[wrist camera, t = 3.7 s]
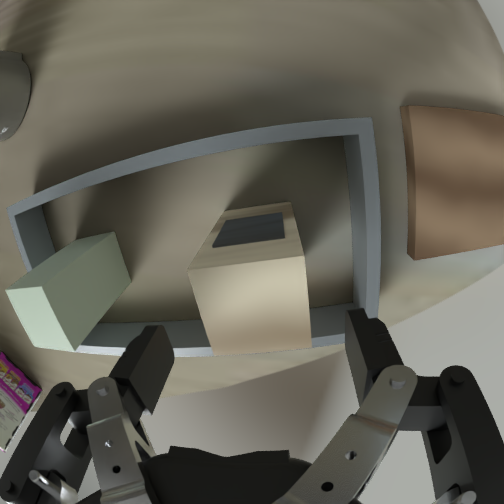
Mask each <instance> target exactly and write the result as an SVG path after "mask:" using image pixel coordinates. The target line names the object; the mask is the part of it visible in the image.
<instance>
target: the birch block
mask: <svg viewBox="0 0 504 504" xmlns="http://www.w3.org/2000/svg"><path fill="white" fill-rule="evenodd" d="M187 272H188V275H189V279H190V282H191V285H192V289H193V292H194V295H195V299H196V302H197V305H198V308H199V312H200V315H201V318H202V321H203V324H204V327H205V330H206V333H207V336H208V339H209V342H210V345H211V348H212V351H213V354H214V356H219V355H238V354H252V353H265V352H276V351H286V350H295V349H304V348H311V347H312V341H311V327H310V313H309V301H308V289H307V278H306V268H305V258H304V253H303V249H302V244H301V240H300V236H299V232H298V228H297V225H296V221H295V217H294V213H293V209H292V205H291V202H290V201H289V202H282V203H275V204H268V205H261V206H254V207H247V208H241V209H234V210H228V211H224V212H223V214H222V215H221V217H220V218H219V220H218V221H217V223H216V225H215V226H214V228H213V229H212V231H211V232H210V234H209V236H208V237H207V239H206V240H205V242H204V244H203V245H202V247H201V248H200V250H199V252H198V253H197V255H196V257H195V258H194V260H193V261H192V263H191V265H190V266H189V268H188V270H187Z"/></svg>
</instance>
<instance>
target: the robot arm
mask: <svg viewBox="0 0 504 504" xmlns="http://www.w3.org/2000/svg"><path fill="white" fill-rule="evenodd" d="M30 86H31V80H30V72H29V69H28V67H27V65H26V64H25V63H24V62H23V60H22V53H17V52H10V51H1V50H0V141H2V140H6V139H8V138H10V137H11V136H12V135H13V134H14V133H15V131H16V130H17V128H18V127H19V125H20V123H21V121H22V119H23V117H24V114H25V112H26V108H27V105H28V101H29V95H30ZM345 349H346V354H347V357H348V361H349V365H350V369H351V373H352V377H353V381H354V385H355V389H356V394H357V398H358V402H359V406H360V408H359V409H358V411H357V412H356V414H351V415H350V416H349V417H348V418H347V419H346V421H345V422H344V423H343V425H342V426H341V428H340V429H339V431H338V432H337V433H336V435H335V436H334V437H333V439H332V440H331V441H330V443H329V444H328V445H327V447H326V448H325V449H324V450H323V451H322V453H321V454H320V455H319V456H318V458H317V459H316V460H315V461H314V463H313V464H311V463H309V462H306V461H304V460H300V459H296V458H290V455H289V450H281V451H256V452H252V453H247V454H242V455H236V456H230V457H222V456H219V455H216V454H212V453H209V452H206V451H202V450H199V449H195V448H184V447H177V446H170V449H169V452H168V453H165V454H160V455H157V454H156V453H155V451H154V449H153V447H152V444H151V442H150V440H149V437H148V435H147V433H146V430H145V428H144V425H143V423H142V421H141V419H140V417H141V415H142V414H145V415H152V414H153V411H154V409H155V406H156V404H157V402H158V399H159V397H160V394H161V392H162V390H163V387H164V385H165V382H166V380H167V378H168V375H169V373H170V371H171V368H172V366H173V363H174V358H175V356H174V350H173V348H172V345H171V343H170V340H169V338H168V335H167V333H166V330H165V328H164V326H163V325H146V326H145V328H144V329H143V331H142V332H141V334H140V335H139V336H137V337H135V338H134V339H133V340H132V341H131V342H130V343H129V344H128V346H127V347H126V349H125V351H124V352H123V354H122V355H121V357H120V358H119V360H118V361H117V363H116V365H115V366H114V368H113V369H112V371H111V373H110V374H109V376H108V377H102V378H99V379H97V380H95V381H94V382H93V383H92V384H91V385H90V386H89V388H88V389H84V390H75V388H74V387H73V385H72V384H71V383H69V382H61V383H59V384H57V385H55V386H54V387H53V388H52V389H51V391H50V392H49V394H48V395H47V397H46V399H45V400H44V402H43V403H42V405H41V407H40V408H39V410H38V411H37V413H36V415H35V416H34V418H33V420H32V421H31V423H30V425H29V426H28V428H27V430H26V432H25V433H24V435H23V437H22V439H21V440H20V442H19V444H18V446H17V448H16V449H15V451H14V453H13V455H12V457H11V459H10V461H9V463H8V464H7V466H6V469H5V471H4V472H3V474H2V477H1V479H0V496H1V498H2V499H3V500H5V501H6V502H7V503H9V504H362V503H361V502H359V501H358V498H359V497H360V495H361V494H362V492H363V491H364V490H365V488H366V486H367V485H368V484H369V482H370V480H371V479H372V477H373V476H374V474H375V472H376V470H377V469H378V467H379V465H380V464H381V462H382V460H383V458H384V457H385V455H386V453H387V451H388V450H389V448H390V446H391V444H392V442H393V440H394V439H395V437H396V434H397V433H398V431H399V430H402V431H421V433H422V436H423V441H424V445H425V449H426V453H427V457H428V461H429V466H430V470H431V476H432V481H433V487H434V492H435V498H436V501H435V502H433V503H432V504H504V443H503V440H502V438H501V435H500V432H499V430H498V427H497V425H496V423H495V420H494V418H493V416H492V413H491V411H490V409H489V407H488V404H487V402H486V400H485V399H484V396H483V394H482V392H481V390H480V388H479V386H478V384H477V382H476V380H475V378H474V376H473V374H472V373H471V372H470V370H468V369H467V368H465V367H463V366H456V365H455V366H450V367H447V368H446V369H444V370H443V371H442V373H441V374H440V377H424V376H418V375H416V373H415V372H414V371H413V370H412V369H411V368H409V367H407V366H404V364H403V362H402V359H401V357H400V355H399V353H398V351H397V349H396V346H395V344H394V342H393V341H392V338H391V336H390V334H389V332H388V330H387V328H386V326H385V324H384V323H383V322H382V321H380V320H379V319H378V318H377V317H375V318H369V319H368V316H367V314H366V312H365V310H364V308H356V309H350V310H346V313H345ZM67 421H68V422H69V423H70V425H71V426H72V427H73V428H72V430H71V432H70V434H69V436H68V438H67V440H66V442H65V444H64V446H63V445H62V443H61V441H60V434H61V432H62V430H63V428H64V427H65V425H66V423H67ZM92 457H93V462H94V466H95V470H96V474H97V478H98V481H99V485H100V488H101V489H100V490H98V491H96V492H95V493H93V494H91V495H89V496H88V497H86V498H84V499H82V500H81V501H78V491H79V488H80V486H81V483H82V480H83V478H84V475H85V473H86V470H87V468H88V465H89V463H90V460H91V458H92Z"/></svg>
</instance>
